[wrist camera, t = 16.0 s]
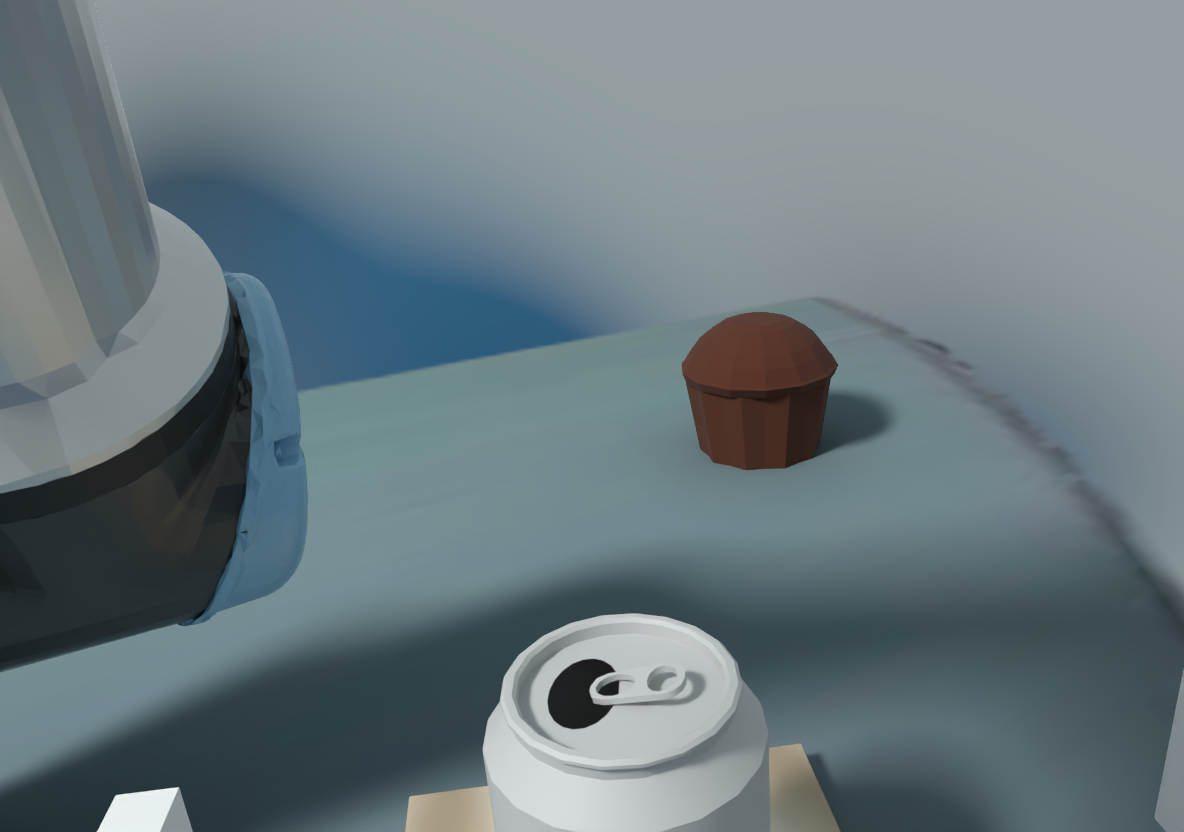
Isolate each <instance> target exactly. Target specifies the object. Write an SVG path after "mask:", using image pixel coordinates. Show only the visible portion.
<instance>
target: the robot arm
mask: <svg viewBox="0 0 1184 832" xmlns="http://www.w3.org/2000/svg"><path fill="white" fill-rule="evenodd" d="M300 438H301V424H300V408H299V401H298V395H297V389H296V384H295V379H294V373H293V368H292V363H291V359H290V354H289V350H288V346H287V342H286V338H285V335H284V331H283V328H282V324H281V322H280V319H279V316H278V313H277V311H276V307H275V304H274V302H273V300H272V298H271V296H270V294H269V292H268V291H267V289H266V287H265V286H264V285H263V284H262V283H261V282H260V281H259V280H258V279H256V278H255V277H253V276H250V275H247V274H242V273H229V272H227V271H224V270H221V267H220V266H219V264H218V262H217V261H216V259H215V257H214V256H213V254H212V253H211V251H210V250H209V248H208V247H207V245H206V244H205V243H204V241H203V240H202V239H201V237H200V236H198V235H197V234H196V233H195V232H194V231H193V230H192V229H190V228H189V227H188V226H187V225H186V224H185V223H184V222H182V221H181V220H179V219H178V218H176V217H175V216H173V215H172V214H170V213H169V212H167V211H165V210H163V209H161V208H159V207H157V206H155V205H153V204H151V203H149V202H148V199H147V195H146V191H145V188H144V184H143V180H142V176H141V173H140V169H139V165H138V162H137V158H136V154H135V151H134V147H133V143H132V139H131V135H130V132H129V128H128V124H127V120H126V117H125V113H124V109H123V106H122V102H121V98H120V94H119V91H118V87H117V83H116V79H115V76H114V72H113V68H112V65H111V60H110V57H109V53H108V49H107V45H106V42H105V38H104V34H103V30H102V27H101V23H100V19H99V16H98V12H97V8H96V5H95V1H94V0H0V672H4V671H7V670H11V669H15V668H18V667H22V666H25V665H29V664H33V663H36V662H40V661H43V660H47V659H51V658H54V657H58V656H61V655H65V654H69V653H72V652H76V651H80V650H83V649H87V648H90V647H94V646H98V645H101V644H105V643H108V642H112V641H116V640H119V639H123V638H126V637H130V636H134V635H137V634H141V633H145V632H148V631H152V630H155V629H159V628H163V627H167V626H171V625H174V624H178V625H181V626H188V625H195V624H199V623H203V622H205V621H207V620H209V619H210V618H211V617H212V616H213V615H214V614H216V613H217V612H219V611H222V610H225V609H228V608H231V607H234V606H237V605H240V604H243V603H246V602H249V601H252V600H255V599H258V598H261V597H264V596H267V595H269V594H271V593H273V592H275V591H276V590H278V589H279V588H280V587H282V586H283V585H284V584H285V583H286V582H287V581H288V580H289V579H290V578H291V576H292V575H293V574H294V572H295V571H296V569H297V567H298V565H299V563H300V560H301V558H302V555H303V551H304V546H305V541H306V533H307V508H308V493H307V476H306V464H305V459H304V455H303V452H302V449H301V447H300V445H299V442H300ZM1154 818H1155V819H1156V821H1157V822H1158V823H1159V824H1160V825H1161V826H1162V828H1163V829H1164V830H1165V831H1166V832H1184V670H1183V675H1182V680H1181V685H1180V690H1179V695H1178V700H1177V705H1176V710H1175V715H1174V720H1173V725H1172V730H1171V735H1170V740H1169V746H1168V751H1167V756H1166V761H1165V766H1164V771H1163V776H1162V781H1161V786H1160V791H1159V796H1158V801H1157V806H1156V811H1155V816H1154ZM97 832H193V831H192V828H191V824H190V821H189V818H188V815H187V811H186V808H185V805H184V802H183V798H182V795H181V792H180V788H179V787H176V788H168V789H160V790H152V791H144V792H137V793H129V794H121V795H116V796H115V798H114V800H113V802H112V804H111V806H110V808H109V809H108V811H107V813H106V815H105V817H104V819H103V821H102V823H101V825H100V827H99V829H98V831H97Z"/></svg>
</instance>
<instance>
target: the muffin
mask: <svg viewBox="0 0 1184 832" xmlns="http://www.w3.org/2000/svg"><path fill="white" fill-rule="evenodd" d="M837 367H838V364H837V362H836V361H835V359H834V357H833V356H832V354H831V353H830V352H829V351H828V350H827V348H826V347H825V346H824V344H823V343H822V342H821V340H820V339H819V338H818V336H817V335H816V334H815V333H814V332H813V331H812V330H811V329H810V328H808V327H807V326H805V325H804V324H802V323H800V322H798V321H796V320H795V319H793V318H790V317H788V316H785V315H782V314H775V313H767V312H752V313H744V314H739V315H736V316H732V317H729V318H726V319H724V320H723V321H721V322H720V323H718V324H717V325H715V326H714V327H713V328H711V329H710V330H709V331H707V332H706V333H705V334H704V335H703V336H701V337H700V338H699V340H698V341H697V342H696V344H695V345H694V346H693V348H692V349H691V351H690V352H689V354H688V355H687V357H686V359H685V360H684V361H683V362H682V373H683V376H684V378H685V380H686V385H687V389H688V394H689V399H690V403H691V408H692V412H693V417H694V422H695V426H696V431H697V435H698V440H699V445H700V449H701V450H702V451H703V452H705V453H706V454H707V455H709V457H710V458H711V460H712V461H713V462H714V463H719V464H724V465H730V466H733V467H737V468H740V469H744V470H754V469H769V468H787V467H789V466H791V465H794V464H796V463H798V462H801V461H805V460H808V459H811V458H813V457H814V451H815V449H816V448H817V446H818V445H819V443H820V437H821V431H822V426H823V420H824V414H825V408H826V402H827V397H828V391H829V385H830V379H831V377H832V376H833V375H834V373H835V371H836V369H837Z"/></svg>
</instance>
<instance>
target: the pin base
mask: <svg viewBox="0 0 1184 832" xmlns="http://www.w3.org/2000/svg"><path fill="white" fill-rule="evenodd" d="M769 782H770V832H841V831H840V829H839V827H838V824H837V822H836V820H835V818H834V816H833V813H832V811H831V809H830V807H829V805H828V802H827V800H826V798H825V796H824V794H823V791H822V789H821V787H820V785H819V783H818V780H817V778H816V776H815V774H814V772H813V769H812V767H811V765H810V763H809V761H808V758H807V756H806V754H805V752H804V750H803V748H802V745H801V744H793V745H786V746H779V747H771V748H769ZM405 832H495V828H494V822H493V815H492V809H491V802H490V796H489V789H488V786H483V787H476V788H468V789H461V790H453V791H446V792H439V793H431V794H424V795H416V796H410V797H409V805H408V813H407V821H406V829H405Z"/></svg>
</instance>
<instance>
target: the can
mask: <svg viewBox="0 0 1184 832" xmlns="http://www.w3.org/2000/svg"><path fill="white" fill-rule="evenodd" d="M482 750H483V756H484V763H485V770H486V776H487V783H488V789H489V796H490V802H491V809H492V815H493V822H494V828H495V832H770V782H769V733H768V729H767V725H766V721H765V717H764V713H763V708H762V704H761V703H760V702H759V700H758V699H757V698H756V696H755V695H754V694H753V692H752V691H751V690H750V689H749V687H748V686H747V685H746V683H745V682H744V681H743V679H741V677H740V672H739V668H738V663H737V662H736V660H735V659H734V658H733V657H732V655H731V654H730V653H729V651H728V650H727V649H726V648H725V646H724V645H723V644H722V643H721V642H720V641H718V640H716V639H715V638H713V637H712V636H710V635H709V634H707V633H706V632H704V631H702V630H701V629H699V628H698V627H696V626H693V625H690V624H687V623H684V622H680V621H677V620H674V619H671V618H668V617H662V616H654V615H645V614H636V613H632V614H616V615H602V616H598V617H594V618H589V619H585V620H581V621H577V622H573V623H570V624H568V625H566V626H563V627H561V628H559V629H557V630H555V631H552V632H550V633H548V634H546V635H544V636H542V637H541V638H540V639H538V640H537V641H536V642H535V643H533V644H532V645H531V646H529V647H528V648H527V649H526V650H524V651H523V652H522V653H521V654H519V655H518V657H517V658H516V660H515V661H514V663H513V664H512V665H511V667H510V668H509V670H508V671H507V673H506V674H505V676H504V679H503V685H502V691H501V697H500V702H499V704H498V705H497V707H496V708H495V710H494V711H493V713H492V714H491V716H490V717H489V719H488V722H487V728H486V733H485V738H484V744H483V749H482Z"/></svg>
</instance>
